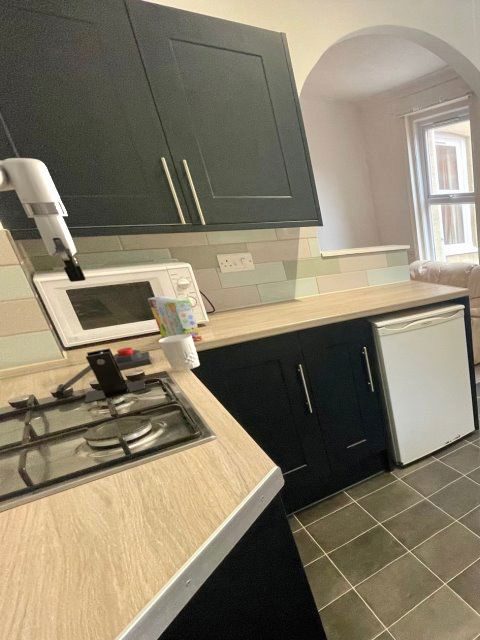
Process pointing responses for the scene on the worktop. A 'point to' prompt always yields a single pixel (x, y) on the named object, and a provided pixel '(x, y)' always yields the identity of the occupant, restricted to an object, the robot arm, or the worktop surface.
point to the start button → (125, 351)
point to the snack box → (174, 316)
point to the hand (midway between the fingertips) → (78, 280)
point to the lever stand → (109, 377)
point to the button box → (133, 360)
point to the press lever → (72, 381)
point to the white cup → (180, 352)
